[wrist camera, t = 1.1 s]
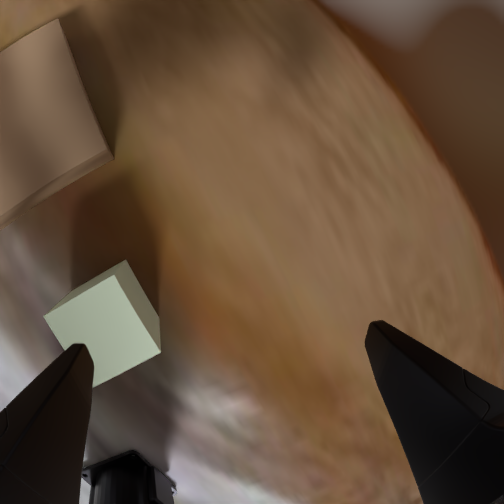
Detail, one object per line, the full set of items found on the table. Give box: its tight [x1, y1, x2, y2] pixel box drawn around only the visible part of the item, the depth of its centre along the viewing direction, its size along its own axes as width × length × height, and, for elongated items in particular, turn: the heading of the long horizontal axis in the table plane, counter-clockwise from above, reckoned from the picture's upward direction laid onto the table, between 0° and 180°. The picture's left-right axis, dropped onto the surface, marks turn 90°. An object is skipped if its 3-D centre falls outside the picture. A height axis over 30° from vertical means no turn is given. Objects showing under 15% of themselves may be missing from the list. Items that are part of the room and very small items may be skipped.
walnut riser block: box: [0, 18, 114, 231], centre depth 15 cm, size 11×11×4 cm
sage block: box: [43, 260, 161, 387], centre depth 17 cm, size 4×4×6 cm
